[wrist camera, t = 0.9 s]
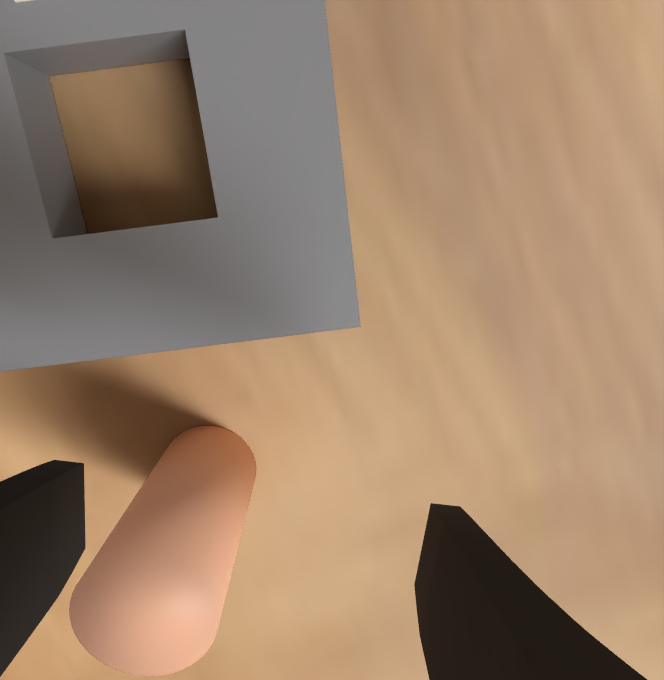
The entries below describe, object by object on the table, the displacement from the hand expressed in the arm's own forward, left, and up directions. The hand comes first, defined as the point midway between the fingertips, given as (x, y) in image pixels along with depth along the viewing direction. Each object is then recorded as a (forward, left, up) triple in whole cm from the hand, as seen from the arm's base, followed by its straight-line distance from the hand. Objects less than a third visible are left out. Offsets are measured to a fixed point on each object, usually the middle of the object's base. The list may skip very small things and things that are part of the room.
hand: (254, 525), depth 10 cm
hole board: (-4, +9, -10) cm, 14 cm away
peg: (-4, -4, -10) cm, 12 cm away
